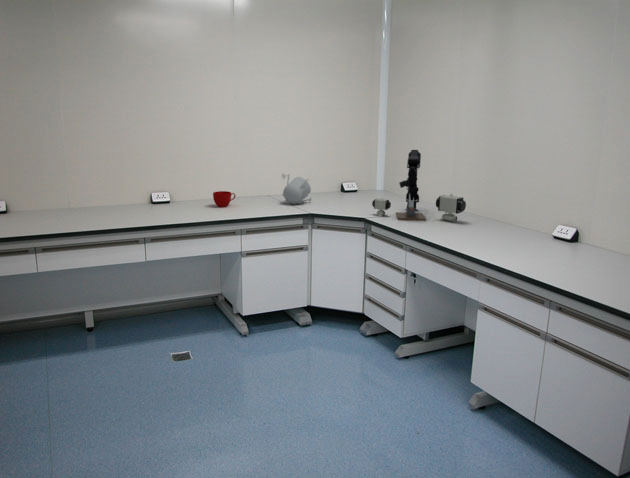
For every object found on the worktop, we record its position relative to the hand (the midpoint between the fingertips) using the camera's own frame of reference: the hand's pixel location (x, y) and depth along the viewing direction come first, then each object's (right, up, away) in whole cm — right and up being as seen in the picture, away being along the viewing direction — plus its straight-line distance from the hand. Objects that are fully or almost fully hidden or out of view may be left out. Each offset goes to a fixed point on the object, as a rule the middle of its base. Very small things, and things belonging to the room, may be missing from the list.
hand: (411, 199), depth 360 cm
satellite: (-77, +1, +47) cm, 90 cm away
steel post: (0, -6, +2) cm, 6 cm away
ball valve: (+24, -14, -6) cm, 29 cm away
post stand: (0, -12, +3) cm, 12 cm away
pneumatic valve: (-19, -10, +9) cm, 23 cm away
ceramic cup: (-129, -2, +34) cm, 134 cm away
